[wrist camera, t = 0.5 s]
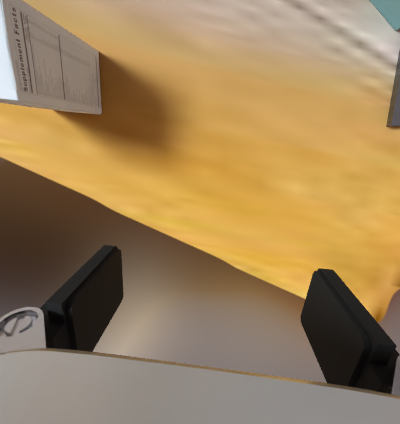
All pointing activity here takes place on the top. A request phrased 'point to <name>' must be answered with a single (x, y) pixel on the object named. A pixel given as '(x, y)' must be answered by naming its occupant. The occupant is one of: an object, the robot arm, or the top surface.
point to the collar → (389, 11)
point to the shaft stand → (395, 100)
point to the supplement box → (45, 63)
